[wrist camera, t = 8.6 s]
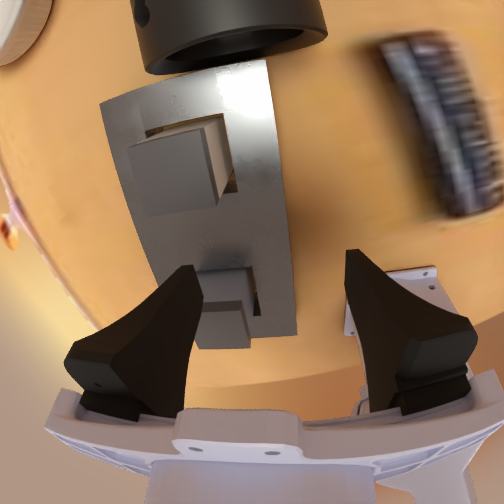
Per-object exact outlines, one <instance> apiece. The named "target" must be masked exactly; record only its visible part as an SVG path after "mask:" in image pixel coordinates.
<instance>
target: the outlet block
mask: <svg viewBox="0 0 504 504" xmlns="http://www.w3.org/2000/svg"><path fill="white" fill-rule="evenodd" d="M99 105H100V109H101V114H102V118H103V122H104V126H105V130H106V134H107V138H108V142H109V146H110V149H111V153H112V157H113V160H114V164H115V167H116V170H117V174H118V177H119V180H120V184H121V187H122V190H123V193H124V196H125V199H126V202H127V205H128V208H129V211H130V214H131V217H132V220H133V222H134V225H135V228H136V231H137V233H138V236H139V239H140V241H141V244H142V247H143V249H144V252H145V254H146V257H147V259H148V262H149V264H150V267H151V269H152V272H153V274H154V277H155V279H156V281H157V284H158V286H160V285H161V284H162V283H164V282H165V281H166V280H167V279H168V278H169V277H170V276H171V275H172V274H173V273H174V272H175V271H176V270H177V269H178V268H179V267H180V266H182V265H192V264H193V265H194V268H195V271H196V274H197V271H203V270H215V269H227V268H239V267H250V266H252V268H253V274H254V279H255V284H256V289H257V293H255V300H254V312H253V323H252V335H251V338H265V337H280V336H294V335H297V323H296V308H295V295H294V283H293V271H292V260H291V250H290V240H289V230H288V220H287V211H286V202H285V193H284V185H283V177H282V169H281V161H280V153H279V146H278V138H277V131H276V124H275V117H274V111H273V104H272V97H271V91H270V85H269V79H268V73H267V67H266V61H265V59H264V60H256V61H249V62H243V63H236V64H231V65H225V66H220V67H215V68H210V69H206V70H202V71H197V72H193V73H189V74H185V75H181V76H178V77H174V78H171V79H167V80H164V81H160V82H157V83H154V84H151V85H148V86H145V87H142V88H139V89H136V90H133V91H131V92H128V93H125V94H122V95H120V96H117V97H115V98H112V99H110V100H107V101H105V102H103V103H100V104H99ZM218 113H223V114H224V119H225V124H226V130H227V135H228V141H229V146H230V151H231V157H232V162H233V167H234V173H235V178H236V179H232V180H228V182H227V184H226V186H225V189H224V191H223V193H222V195H221V198H220V200H219V202H218V204H217V207H212V208H205V209H198V210H192V211H185V212H179V213H172V214H166V215H160V216H154V217H148V218H147V216H146V213H145V210H144V207H143V204H142V201H141V198H140V195H139V191H138V188H137V185H136V182H135V178H134V175H133V172H132V168H131V165H130V161H129V158H128V154H127V150H126V149H127V148H129V147H131V146H133V145H135V144H137V143H139V142H141V141H143V140H145V139H147V138H149V137H151V136H153V135H155V134H158V133H160V132H162V131H163V130H162V126H165V125H169V124H173V123H177V122H181V121H185V120H189V119H194V118H198V117H203V116H208V115H213V114H218Z"/></svg>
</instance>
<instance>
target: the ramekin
mask: <svg viewBox="0 0 504 504" xmlns="http://www.w3.org/2000/svg"><path fill="white" fill-rule="evenodd" d="M51 5H52V0H0V66H3V65H6V64H8V63H11V62H13V61H14V60H16V59H18V58H19V57H20V56H21V55H23V54H24V53H25V52H26V51H27V50H28V49H29V48H30V47H31V45H32V44H33V43H34V42H35V40H36V39H37V37H38V36H39V34H40V33H41V31H42V29H43V27H44V25H45V23H46V21H47V18H48V16H49V13H50V9H51Z"/></svg>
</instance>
